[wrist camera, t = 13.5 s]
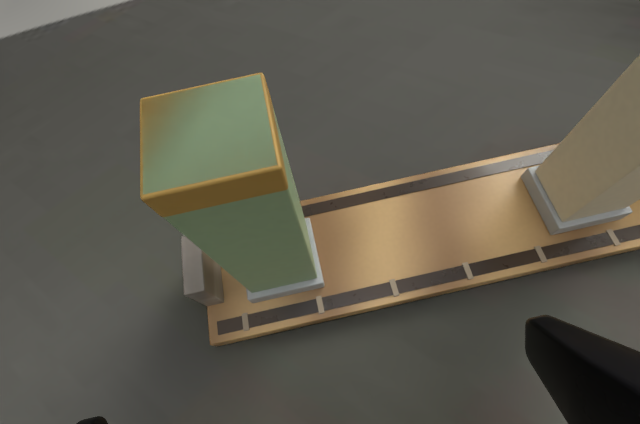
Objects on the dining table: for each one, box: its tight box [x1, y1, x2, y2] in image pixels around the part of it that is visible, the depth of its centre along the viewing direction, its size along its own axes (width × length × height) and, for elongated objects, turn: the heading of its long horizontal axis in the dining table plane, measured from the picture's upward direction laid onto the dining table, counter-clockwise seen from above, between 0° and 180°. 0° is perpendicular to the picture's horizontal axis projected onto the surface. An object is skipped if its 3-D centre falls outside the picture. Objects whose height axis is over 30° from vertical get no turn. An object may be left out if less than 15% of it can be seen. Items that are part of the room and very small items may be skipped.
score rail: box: [181, 143, 640, 346], centre depth 20 cm, size 26×7×4 cm, turn 102°
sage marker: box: [140, 73, 325, 303], centre depth 15 cm, size 4×4×12 cm
